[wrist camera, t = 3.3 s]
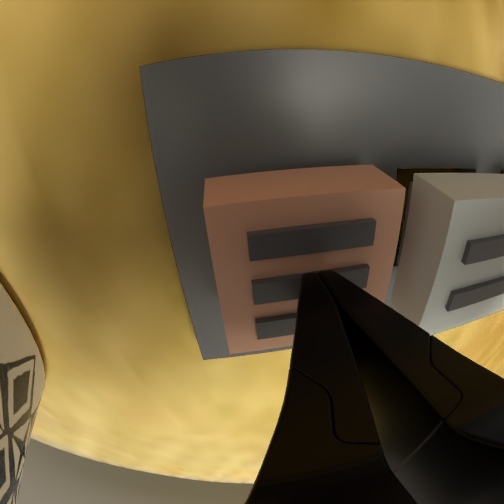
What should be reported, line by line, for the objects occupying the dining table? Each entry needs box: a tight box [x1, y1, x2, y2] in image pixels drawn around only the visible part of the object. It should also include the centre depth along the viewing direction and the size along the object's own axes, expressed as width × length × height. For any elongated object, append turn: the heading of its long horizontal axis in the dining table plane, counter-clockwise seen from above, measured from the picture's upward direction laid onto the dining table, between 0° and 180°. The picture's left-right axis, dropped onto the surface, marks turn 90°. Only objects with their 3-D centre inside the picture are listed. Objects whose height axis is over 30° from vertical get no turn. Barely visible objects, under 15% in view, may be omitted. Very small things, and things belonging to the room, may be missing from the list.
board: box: [140, 49, 504, 360], centre depth 11 cm, size 20×12×1 cm, turn 94°
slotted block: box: [203, 165, 406, 354], centre depth 10 cm, size 5×5×4 cm
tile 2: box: [390, 173, 504, 336], centre depth 9 cm, size 5×5×4 cm
